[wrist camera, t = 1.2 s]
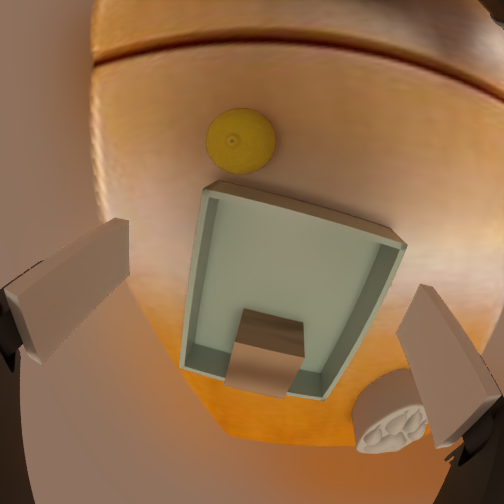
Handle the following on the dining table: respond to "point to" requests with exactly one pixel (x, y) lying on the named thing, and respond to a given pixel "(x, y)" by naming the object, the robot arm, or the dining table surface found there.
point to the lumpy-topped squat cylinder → (389, 414)
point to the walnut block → (266, 354)
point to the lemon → (240, 141)
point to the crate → (284, 280)
